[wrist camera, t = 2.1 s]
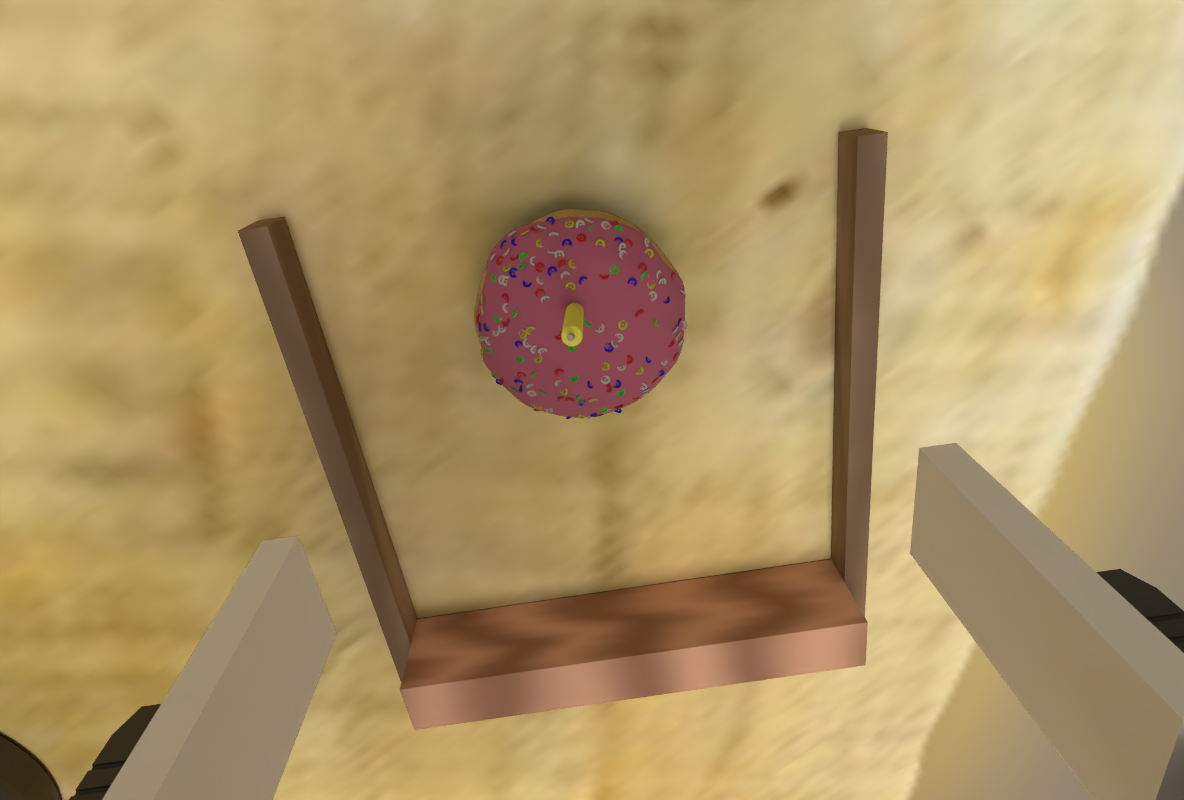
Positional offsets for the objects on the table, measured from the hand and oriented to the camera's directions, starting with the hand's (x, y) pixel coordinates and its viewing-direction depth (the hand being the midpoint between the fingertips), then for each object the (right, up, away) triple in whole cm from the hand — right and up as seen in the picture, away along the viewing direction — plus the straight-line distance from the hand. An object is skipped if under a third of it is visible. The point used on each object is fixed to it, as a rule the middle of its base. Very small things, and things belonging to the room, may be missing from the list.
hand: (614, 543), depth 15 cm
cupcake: (-1, +8, +17) cm, 19 cm away
